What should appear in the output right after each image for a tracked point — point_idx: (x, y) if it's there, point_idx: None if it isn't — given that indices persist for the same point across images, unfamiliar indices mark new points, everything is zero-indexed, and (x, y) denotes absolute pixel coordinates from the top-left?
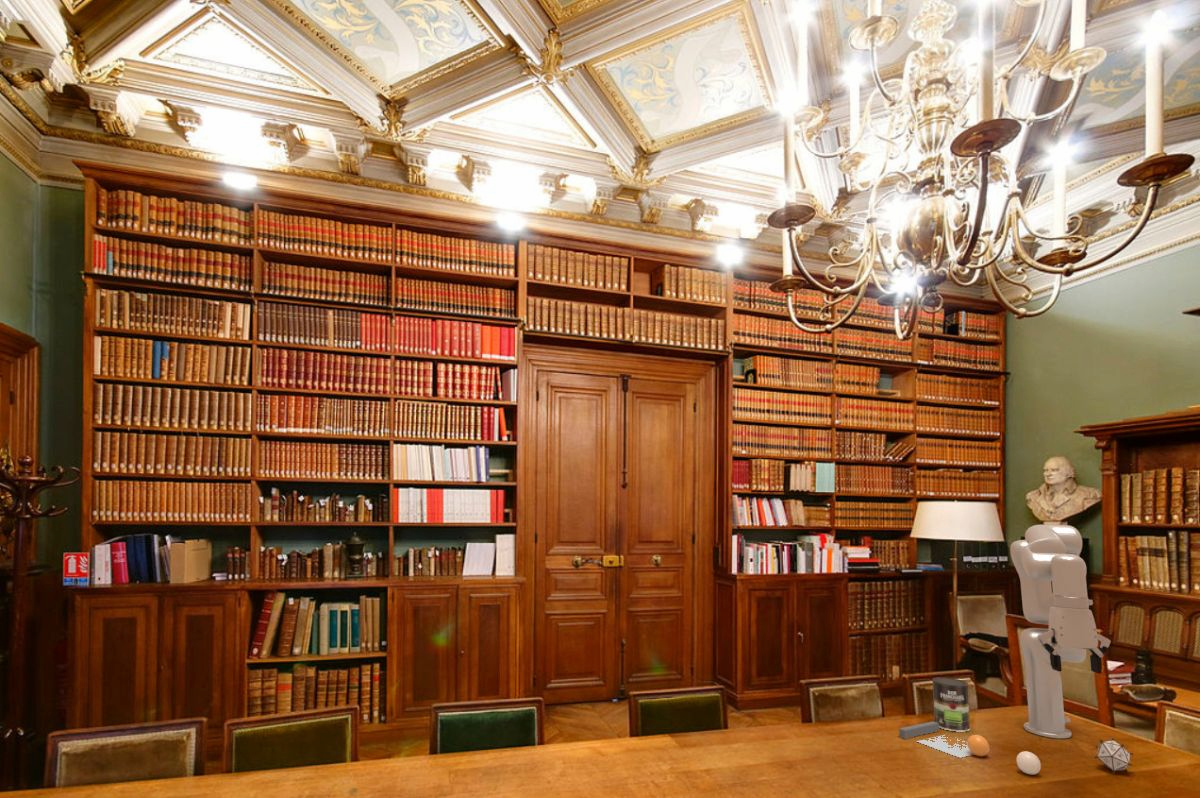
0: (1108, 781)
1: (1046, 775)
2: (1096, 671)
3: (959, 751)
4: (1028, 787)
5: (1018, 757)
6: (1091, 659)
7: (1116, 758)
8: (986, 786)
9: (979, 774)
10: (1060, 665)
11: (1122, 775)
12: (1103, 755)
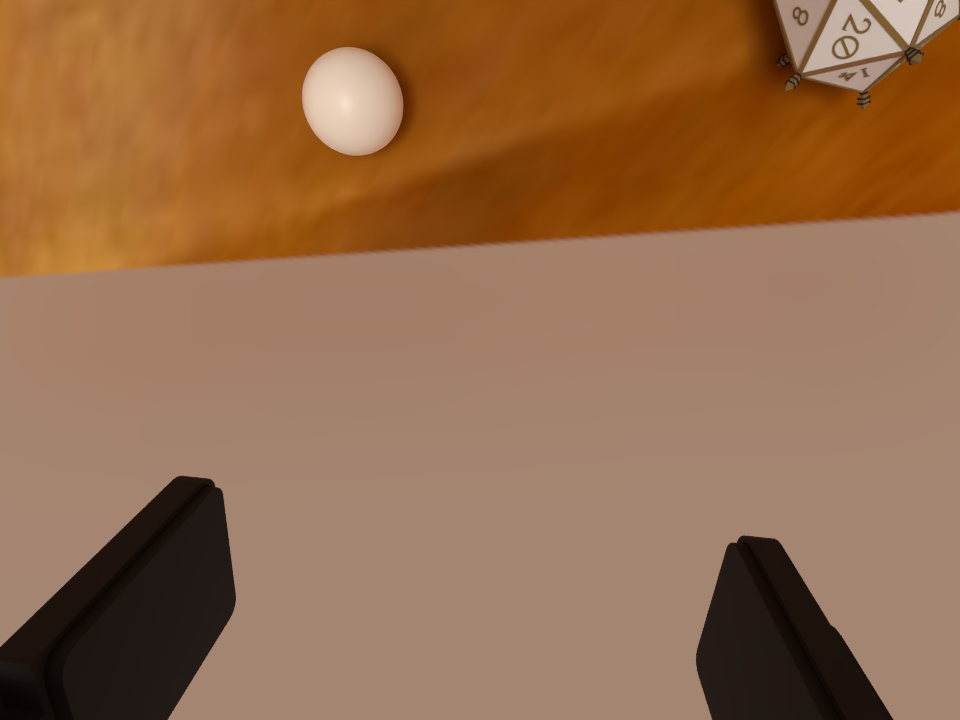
0: (673, 161)
1: (435, 114)
2: (707, 641)
3: None
4: (299, 248)
5: (302, 98)
6: (798, 717)
7: (815, 81)
8: (150, 250)
9: (155, 131)
10: (185, 671)
11: None
12: (787, 26)
